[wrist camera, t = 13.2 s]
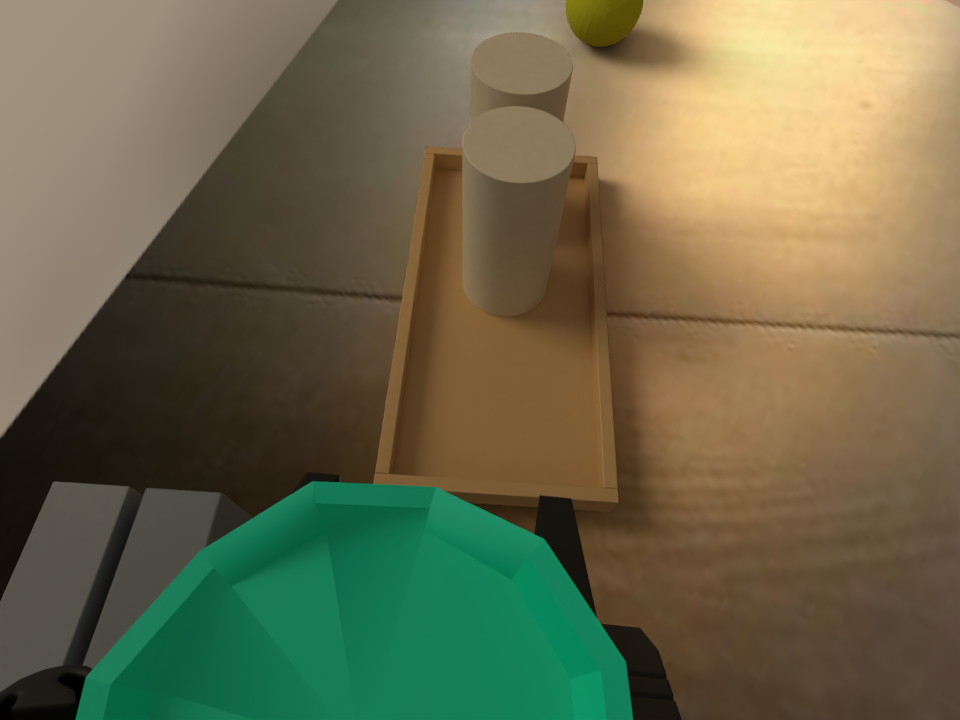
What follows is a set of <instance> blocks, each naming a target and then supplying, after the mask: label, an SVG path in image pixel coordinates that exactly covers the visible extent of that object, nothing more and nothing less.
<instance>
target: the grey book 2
mask: <svg viewBox="0 0 960 720" xmlns="http://www.w3.org/2000/svg"><path fill="white" fill-rule="evenodd" d="M252 518H253V517H252V516H251V515H249V514H248V513H247V512H245V511H244V510H243V509H242V508H240V507H239V506H238V505H236V504H235V503H234V502H233V501H231V500H230V499H229V498H227V497H226V496H225V495H224V494H222V493H218V492H203V491H187V490H172V489H157V488H146V490H145V492H144V495H143V498H142V501H141V504H140V506H139V509H138V512H137V515H136V518H135V520H134V523H133V526H132V529H131V531H130V534H129V537H128V540H127V543H126V545H125V548H124V551H123V554H122V557H121V559H120V562H119V565H118V568H117V571H116V573H115V576H114V579H113V582H112V585H111V587H110V590H109V593H108V596H107V599H106V601H105V604H104V607H103V610H102V613H101V615H100V618H99V621H98V624H97V627H96V629H95V632H94V635H93V638H92V640H91V643H90V646H89V649H88V652H87V654H86V657H85V660H84V663H83V666H88V667H90V668H92V669H94V667H95V666H96V665H97V664H98V663H99V662H100V661H101V660H102V659H103V657H104V656H105V655H106V654H107V653H108V652H109V651H110V650H111V649H112V648H113V646H114V645H115V644H116V643H117V642H118V641H119V640H120V639H121V638H122V636H123V635H124V634H125V633H126V632H127V631H128V630H129V629H130V628H131V627H132V625H133V624H134V623H135V622H136V621H137V620H138V619H139V618H140V617H141V615H142V614H143V613H144V612H145V611H146V610H147V609H148V608H149V607H150V606H151V604H152V603H153V602H154V601H155V600H156V599H157V598H158V597H159V596H160V594H161V593H162V592H163V591H164V590H165V589H166V588H167V587H168V586H169V585H170V583H171V582H172V581H173V580H174V579H175V578H176V577H177V576H178V575H179V573H180V572H181V571H182V570H183V569H184V568H185V567H186V566H187V565H188V564H189V562H190V561H191V560H192V559H193V558H194V557H195V556H196V555H197V554H198V552H199V551H200V550H202V549H204V548H205V547H207V546H209V545H210V544H212V543H213V542H215V541H217V540H218V539H220V538H221V537H223V536H225V535H226V534H228V533H230V532H231V531H233V530H234V529H236V528H238V527H239V526H241V525H243V524H244V523H246V522H247V521H249V520H251V519H252Z"/></svg>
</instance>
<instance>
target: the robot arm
mask: <svg viewBox="0 0 960 720" xmlns="http://www.w3.org/2000/svg"><path fill="white" fill-rule="evenodd" d="M312 481H319V482H339V475H332V474H322V473H312V472H307V474H306V475H305V476H304V478H303V479H302V480H301V482H300V483H299V484H298V485H297V487H296V488H295V489H294V491H293V492H292V493H291V494H293V493H294V492H296V491H298V490H299V489H301V488H302V487H304V486H306V485H307V484H309V483H310V482H312ZM535 535H537V536H539V537H541V538H543V539H545V541H546V542H547V544H548V545H549V547H550V548H551V550H552V551H553V553H554V554H555V556H556V557H557V559H558V560H559V562H560V563H561V565H562V566H563V568H564V569H565V571H566V572H567V574H568V575H569V577H570V578H571V580H572V581H573V583H574V584H575V586H576V587H577V589H578V590H579V592H580V593H581V595H582V596H583V598H584V599H585V601H586V602H587V604H588V606H589V607H590V609H591V610H592V612H593V613H594V615H595V616H596V611H595V607H594V602H593V597H592V593H591V588H590V583H589V579H588V574H587V569H586V565H585V560H584V555H583V551H582V546H581V541H580V537H579V532H578V527H577V523H576V518H575V513H574V509H573V504H572V499H571V498H563V497H553V496H543V495H539V503H538V511H537V519H536V527H535ZM596 618H597V616H596ZM601 625H602V627H603V628H604V630H605V631H606V633H607V634H608V636H609V637H610V639H611V640H612V642H613V643H614V645H615V646H616V648H617V649H618V651H619V652H620V654H621V655H622V657H623V658H624V660H625V661H626V666H627V674H628V682H629V690H630V698H631V706H632V714H633V720H681V717H680V714H679V711H678V708H677V705H676V702H675V701H674V700H673V693H672V690H671V687H670V684H669V681H668V680H667V679H666V672H665V669H664V666H663V663H662V660H661V657H660V654H659V651H658V649H657V648H656V647H655V646H654V644H653V643H652V642H651V641H650V640H649V638H648V637H647V636H646V635H645V634H644V632H643V631H642V630H641V629H640V628H636V627H626V626H617V625H607V624H601ZM92 670H93V669H92V668H90V667H88V666H81V665H63V666H58V667H53V668H48V669H44V670H41V671H39V672H36V673H34V674H31V675H29V676H27V677H24V678H22V679H19V680H18V681H16V682H15V683H13V684H12V685H10V686H9V687H7V688H6V689H4V690H2V691H1V692H0V720H75V719H76V715H77V711H78V707H79V703H80V699H81V695H82V691H83V687H84V683H85V679H86V676H87V675H88V674H89V673H90V672H91V671H92Z"/></svg>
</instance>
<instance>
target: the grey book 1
mask: <svg viewBox="0 0 960 720" xmlns="http://www.w3.org/2000/svg"><path fill="white" fill-rule="evenodd" d="M142 498H143V494H141V493H140V492H138V491H136V490H134V489H133V488H131V487H129V486H115V485H99V484H84V483H69V482H53V484H52V486H51V488H50V491H49V493H48V495H47V497H46V500H45V502H44V504H43V506H42V509H41V511H40V513H39V515H38V518H37V520H36V522H35V524H34V527H33V529H32V531H31V533H30V536H29V538H28V540H27V542H26V545H25V547H24V549H23V551H22V554H21V556H20V558H19V560H18V563H17V565H16V567H15V570H14V572H13V574H12V576H11V579H10V581H9V583H8V585H7V588H6V590H5V592H4V594H3V597H2V599H1V601H0V692H1V691H2V690H4V689H6V688H7V687H9V686H10V685H12V684H13V683H15V682H16V681H18V680H19V679H22V678H24V677H27V676H29V675H31V674H34V673H36V672H39V671H41V670H44V669H48V668H53V667H58V666H63V665H81V666H83V663H84V660H85V657H86V654H87V652H88V649H89V646H90V643H91V640H92V638H93V635H94V632H95V629H96V627H97V624H98V621H99V618H100V615H101V613H102V610H103V607H104V604H105V601H106V599H107V596H108V593H109V590H110V587H111V585H112V582H113V579H114V576H115V573H116V571H117V568H118V565H119V562H120V559H121V557H122V554H123V551H124V548H125V545H126V543H127V540H128V537H129V534H130V531H131V529H132V526H133V523H134V520H135V518H136V515H137V512H138V509H139V506H140V504H141V501H142Z"/></svg>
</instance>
